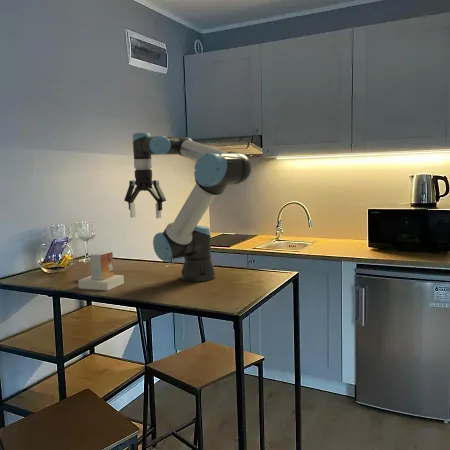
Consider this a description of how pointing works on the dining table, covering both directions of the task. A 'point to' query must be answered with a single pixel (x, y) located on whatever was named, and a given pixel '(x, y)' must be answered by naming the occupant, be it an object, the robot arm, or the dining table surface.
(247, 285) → the dining table surface
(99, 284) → the ceramic block
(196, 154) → the robot arm
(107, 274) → the small box
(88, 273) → the brown rounded block
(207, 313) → the dining table surface
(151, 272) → the dining table surface
